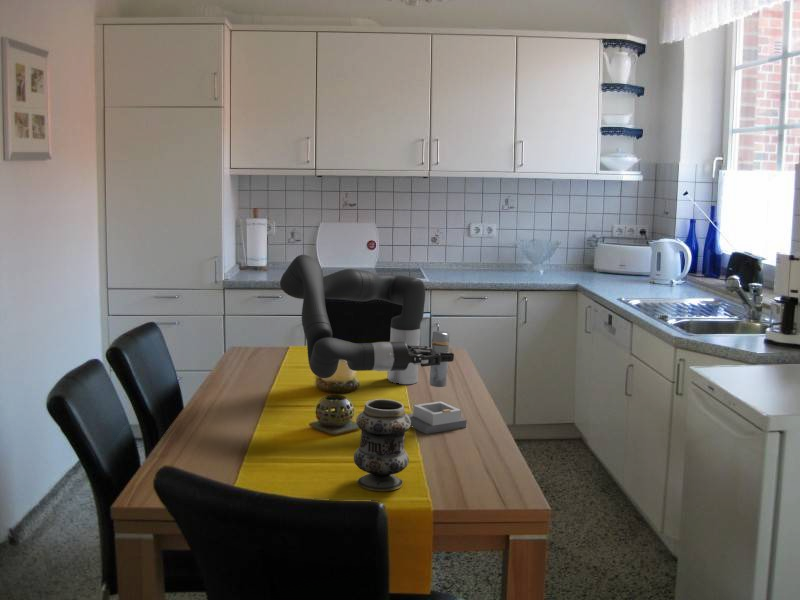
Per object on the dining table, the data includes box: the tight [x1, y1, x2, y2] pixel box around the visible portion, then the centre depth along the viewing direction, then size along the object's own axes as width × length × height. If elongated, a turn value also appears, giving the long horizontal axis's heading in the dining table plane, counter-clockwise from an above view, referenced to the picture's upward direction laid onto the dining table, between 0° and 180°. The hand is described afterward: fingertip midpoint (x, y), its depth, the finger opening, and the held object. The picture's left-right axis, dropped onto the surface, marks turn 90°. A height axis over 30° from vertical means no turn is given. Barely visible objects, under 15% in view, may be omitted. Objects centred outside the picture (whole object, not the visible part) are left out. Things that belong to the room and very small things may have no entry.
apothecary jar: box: [353, 398, 411, 492], centre depth 191 cm, size 12×12×18 cm
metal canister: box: [429, 330, 451, 388], centre depth 232 cm, size 5×5×14 cm
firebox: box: [406, 400, 468, 435], centre depth 235 cm, size 11×13×6 cm
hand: (449, 354), depth 232 cm, fingers closed on metal canister, 4 cm apart
